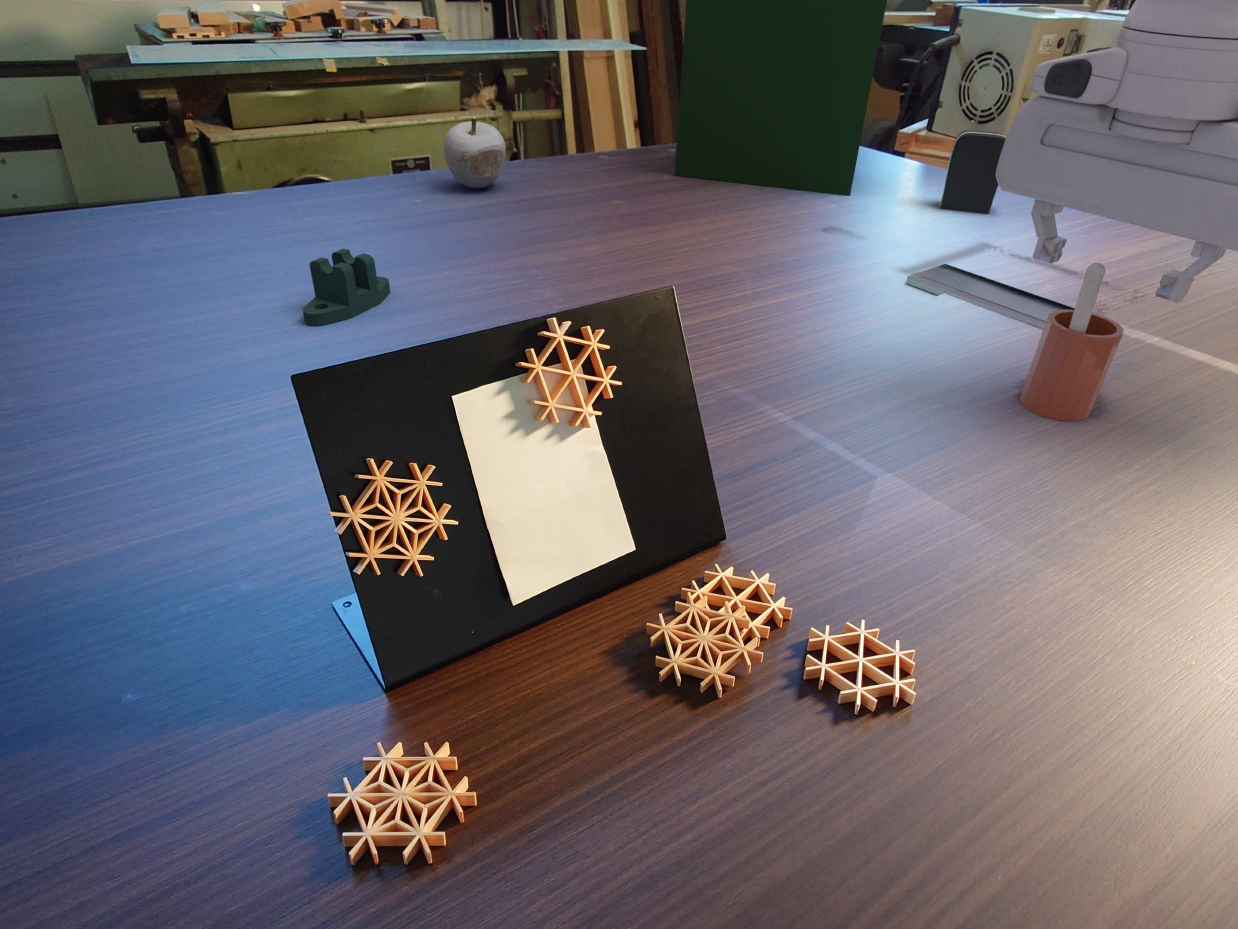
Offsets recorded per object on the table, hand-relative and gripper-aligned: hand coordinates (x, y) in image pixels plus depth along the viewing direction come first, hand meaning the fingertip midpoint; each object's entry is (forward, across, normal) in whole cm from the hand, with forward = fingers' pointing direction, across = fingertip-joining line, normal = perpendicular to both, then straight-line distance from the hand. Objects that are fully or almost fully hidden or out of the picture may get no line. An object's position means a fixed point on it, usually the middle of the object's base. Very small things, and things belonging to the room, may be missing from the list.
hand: (1104, 278), depth 62 cm
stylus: (+11, 0, 0) cm, 11 cm away
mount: (+12, +53, +40) cm, 68 cm away
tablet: (+12, +16, -22) cm, 29 cm away
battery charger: (+12, +36, -42) cm, 56 cm away
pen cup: (+12, 0, 0) cm, 12 cm away
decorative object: (+12, +84, +8) cm, 85 cm away
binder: (+12, +67, -35) cm, 76 cm away
